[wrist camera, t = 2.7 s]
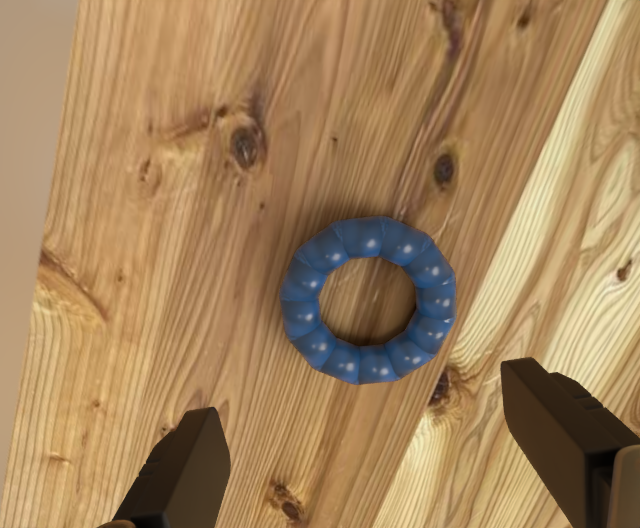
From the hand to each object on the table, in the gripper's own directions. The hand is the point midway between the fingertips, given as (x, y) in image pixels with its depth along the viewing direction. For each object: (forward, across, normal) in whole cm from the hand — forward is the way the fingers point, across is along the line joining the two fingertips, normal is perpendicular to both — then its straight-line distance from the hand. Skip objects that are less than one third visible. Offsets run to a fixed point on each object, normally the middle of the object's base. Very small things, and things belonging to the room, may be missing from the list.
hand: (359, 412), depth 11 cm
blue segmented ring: (+14, -1, +2) cm, 14 cm away
